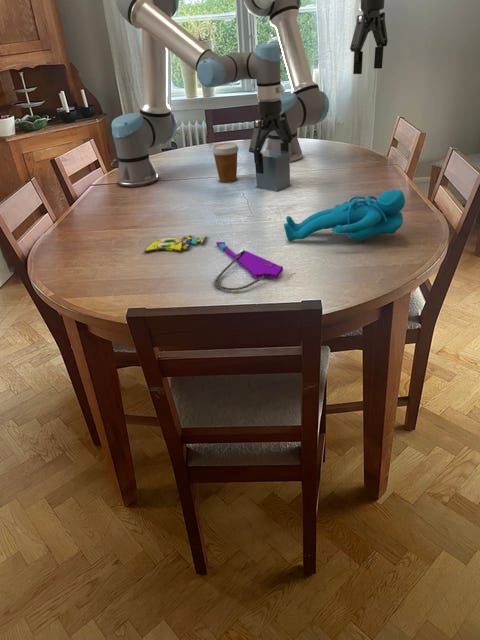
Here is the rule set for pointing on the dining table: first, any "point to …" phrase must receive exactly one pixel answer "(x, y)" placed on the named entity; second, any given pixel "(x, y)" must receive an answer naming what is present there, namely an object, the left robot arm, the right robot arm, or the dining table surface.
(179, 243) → the toy
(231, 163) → the disposable coffee cup
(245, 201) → the dining table surface
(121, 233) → the dining table surface
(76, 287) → the dining table surface
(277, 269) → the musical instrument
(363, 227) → the toy
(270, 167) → the block
